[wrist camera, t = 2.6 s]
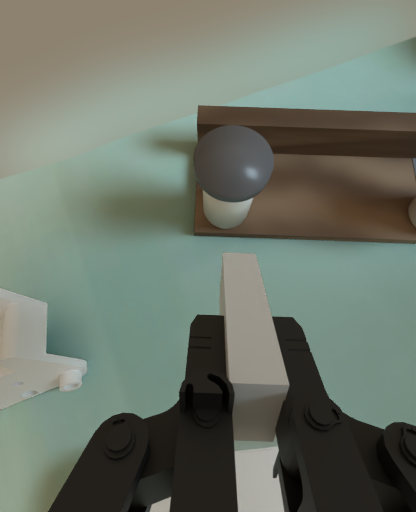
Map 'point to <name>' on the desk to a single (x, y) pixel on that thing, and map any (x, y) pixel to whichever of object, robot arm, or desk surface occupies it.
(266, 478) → the computer
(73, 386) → the mounting bracket
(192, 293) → the desk surface
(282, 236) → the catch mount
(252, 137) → the knob
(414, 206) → the knob
